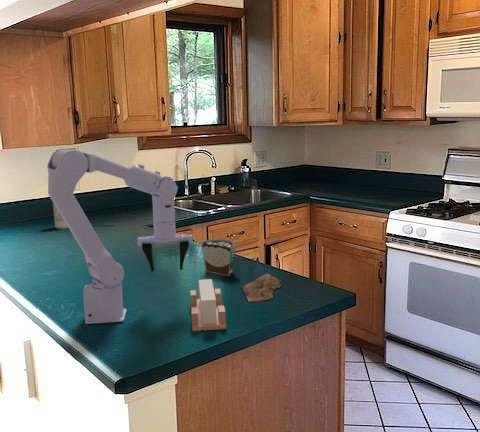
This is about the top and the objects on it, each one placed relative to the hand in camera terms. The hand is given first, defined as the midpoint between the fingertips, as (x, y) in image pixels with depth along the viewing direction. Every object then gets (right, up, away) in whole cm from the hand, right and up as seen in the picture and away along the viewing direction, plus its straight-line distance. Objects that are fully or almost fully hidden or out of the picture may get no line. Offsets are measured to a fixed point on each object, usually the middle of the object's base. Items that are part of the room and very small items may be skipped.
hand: (167, 269), depth 144 cm
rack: (+11, -11, -8) cm, 18 cm away
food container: (+14, -4, +29) cm, 33 cm away
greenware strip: (+12, -10, -8) cm, 17 cm away
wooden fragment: (+26, -7, +13) cm, 30 cm away
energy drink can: (-63, +9, +102) cm, 120 cm away
